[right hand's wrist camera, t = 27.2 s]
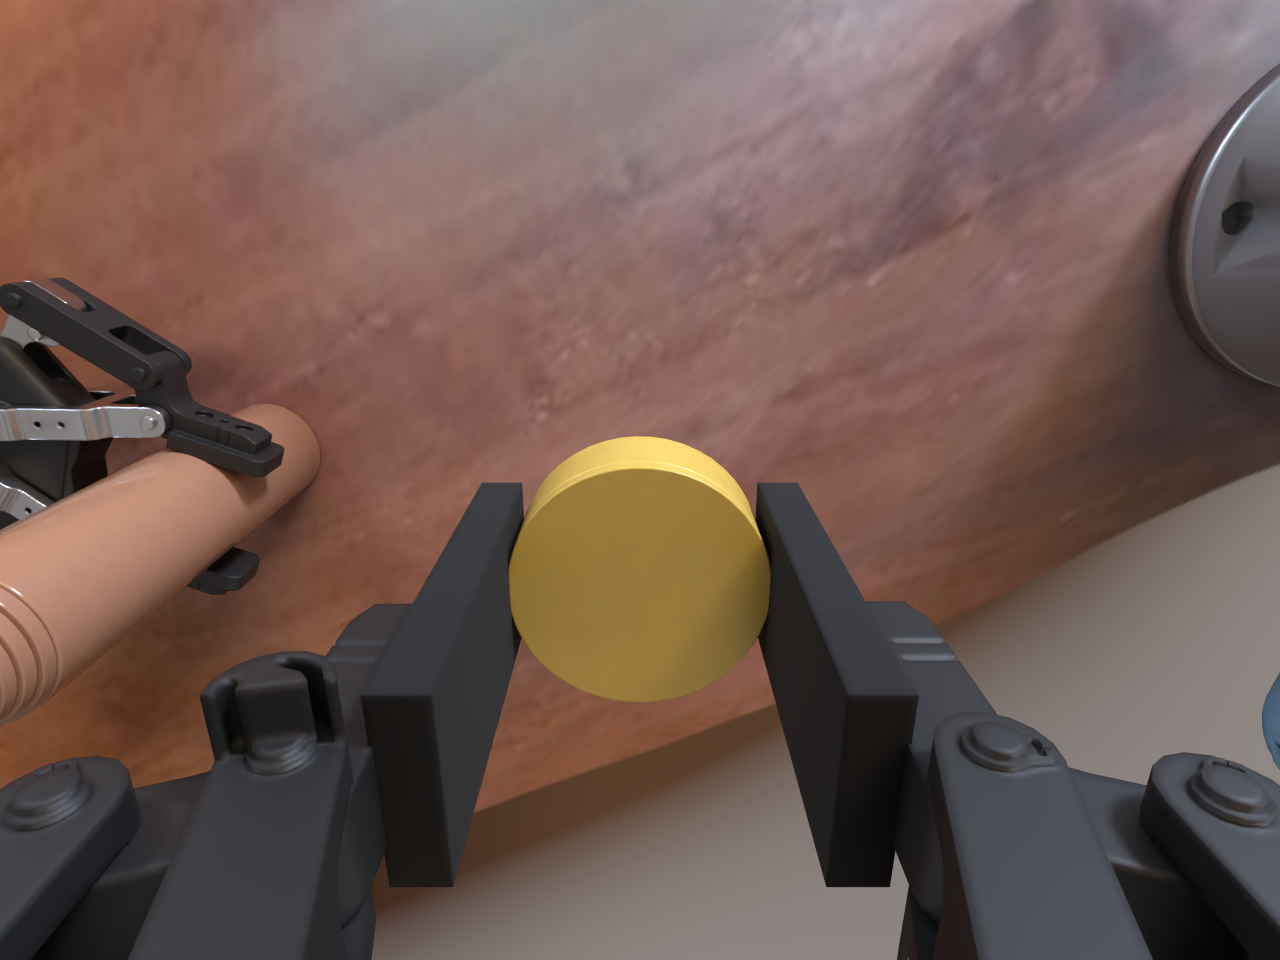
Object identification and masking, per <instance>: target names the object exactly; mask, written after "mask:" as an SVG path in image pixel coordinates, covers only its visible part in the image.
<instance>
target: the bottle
mask: <svg viewBox="0 0 1280 960" xmlns="http://www.w3.org/2000/svg"><path fill="white" fill-rule="evenodd" d="M230 416H233V417H236V418H239V419H242V420H245V421H246V422H251V423H254V424H257V425H260V426H262V427H263V428H265V429H266V430H267V431H268V432H270V433H271V434H272V440H271V442H274V443H277V444H280V445H282V446H283V447H284V448H285V451H284V455H283V459H282V464H281V465H280V466H279V467H278V468H276V469H275V470H273V471H272V472H271V473H269V474H268V475H266V476H264V477H252V476H248V475H245V474H242V473H239V472H236V471H233V470H230V469H227V468H224V467H221V466H218V465H215V464H212V463H209V462H206V461H203V460H201V459H198V458H196V457H193V456H190V455H187V454H183V453H180V452H177V451H174V450H171V449H168V448H166V447H165V448H163V449H161V450H159V451H157V452H155V453H153V454H151V455H149V456H147V457H145V458H143V459H141V460H139V461H137V462H135V463H133V464H131V465H129V466H127V467H125V468H123V469H121V470H119V471H117V472H115V473H113V474H111V475H109V476H107V477H105V478H103V479H101V480H99V481H97V482H95V483H93V484H91V485H89V486H87V487H85V488H83V489H81V490H79V491H77V492H75V493H73V494H71V495H69V496H67V497H65V498H63V499H61V500H59V501H57V502H55V503H53V504H51V505H49V506H47V507H45V508H43V509H41V510H39V511H37V512H35V513H33V514H31V515H29V516H27V517H25V518H23V519H21V520H19V521H17V522H15V523H13V524H11V525H9V526H7V527H5V528H3V529H1V530H0V727H1V726H3V725H4V724H7V723H11V722H13V721H15V720H18V719H20V718H21V717H23V716H24V715H26V714H28V713H29V712H30V711H32V710H34V709H36V708H38V707H39V706H41V705H42V704H44V703H45V702H46V701H48V700H49V699H50V698H51V697H52V696H54V695H55V694H56V693H57V692H59V691H60V690H61V689H62V688H63V687H65V686H66V685H67V684H68V683H69V682H71V681H72V680H73V679H74V678H75V677H77V676H78V675H79V674H80V673H82V672H83V671H84V670H85V669H86V668H88V667H89V666H90V665H91V664H92V663H94V662H95V661H96V660H97V659H98V658H100V657H101V656H102V655H103V654H105V653H106V652H107V651H108V650H109V649H111V648H112V647H113V646H114V645H115V644H117V643H118V642H119V641H120V640H121V639H123V638H124V637H125V636H126V635H128V634H129V633H130V632H131V631H132V630H134V629H135V628H136V627H137V626H138V625H140V624H141V623H142V622H143V621H144V620H146V619H147V618H148V617H149V616H151V615H152V614H153V613H154V612H155V611H157V610H158V609H159V608H160V607H161V606H163V605H164V604H165V603H166V602H167V601H169V600H170V599H171V598H172V597H174V596H175V595H176V594H177V593H178V592H180V591H181V590H182V589H183V588H184V587H186V586H187V585H188V584H189V583H190V582H192V581H193V580H194V579H195V578H197V577H198V576H199V575H200V574H201V573H203V572H204V571H205V570H206V569H207V568H209V567H210V566H211V565H212V564H213V563H215V562H216V561H217V560H218V559H220V558H221V557H222V556H223V555H224V554H226V553H227V552H228V551H229V550H230V549H232V548H233V547H234V546H235V545H236V544H238V543H239V542H240V541H241V540H243V539H244V538H245V537H246V536H247V535H249V534H250V533H251V532H252V531H253V530H255V529H256V528H257V527H258V526H259V525H261V524H262V523H263V522H264V521H266V520H267V519H268V518H269V517H270V516H272V515H273V514H274V513H275V512H276V511H278V510H279V509H280V508H281V507H282V506H284V505H285V504H286V503H287V502H289V501H290V500H291V499H292V498H293V497H295V496H296V495H297V494H298V493H299V492H301V491H302V490H303V489H304V488H305V487H307V486H308V485H309V484H310V483H311V482H312V481H313V479H314V478H315V476H316V474H317V472H318V469H319V465H320V449H319V444H318V441H317V439H316V437H315V435H314V433H313V431H312V430H311V428H310V427H309V426H308V424H307V423H306V422H305V421H304V420H303V419H302V418H300V417H299V416H298V415H297V414H295V413H293V412H292V411H290V410H288V409H286V408H283V407H280V406H277V405H273V404H255V405H251V406H247V407H245V408H243V409H241V410H239V411H237V412H235V413H233V414H231V415H230Z"/></svg>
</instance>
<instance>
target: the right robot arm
mask: <svg viewBox="0 0 1280 960" xmlns="http://www.w3.org/2000/svg"><path fill="white" fill-rule="evenodd" d="M1169 270H1170V279H1171V286H1172V290H1173V295H1174V299H1175V302H1176V305H1177V308H1178V311H1179V313H1180V316H1181V318H1182V320H1183V322H1184V324H1185V326H1186V328H1187V329H1188V331H1189V332H1190V334H1191V335H1192V337H1193V338H1194V340H1195V341H1196V342H1197V343H1198V344H1199V345H1200V347H1201V348H1202V349H1203V350H1204V351H1205V352H1206V353H1207V354H1209V355H1210V356H1211V357H1212V358H1213V359H1214V360H1216V361H1217V362H1218V363H1220V364H1221V365H1223V366H1224V367H1226V368H1228V369H1230V370H1232V371H1233V372H1235V373H1237V374H1240V375H1242V376H1245V377H1248V378H1250V379H1253V380H1257V381H1260V382H1264V383H1268V384H1271V385H1275V386H1279V387H1280V64H1279V65H1277V66H1276V67H1274V68H1273V69H1272V70H1271V71H1270V72H1268V73H1267V74H1266V75H1265V76H1263V77H1262V78H1261V79H1260V80H1259V81H1257V82H1256V83H1255V84H1254V85H1253V86H1252V87H1251V88H1250V89H1249V90H1248V91H1247V92H1246V93H1245V94H1244V95H1243V96H1242V97H1241V98H1240V99H1239V100H1238V101H1237V102H1236V103H1235V104H1234V106H1233V107H1232V108H1231V109H1230V110H1229V111H1228V112H1227V113H1226V115H1225V116H1224V117H1223V119H1222V120H1221V121H1220V123H1219V124H1218V125H1217V126H1216V128H1215V129H1214V131H1213V132H1212V134H1211V135H1210V137H1209V138H1208V140H1207V141H1206V143H1205V144H1204V146H1203V147H1202V149H1201V151H1200V153H1199V155H1198V156H1197V158H1196V160H1195V162H1194V164H1193V166H1192V168H1191V170H1190V172H1189V174H1188V177H1187V179H1186V181H1185V183H1184V186H1183V189H1182V192H1181V194H1180V197H1179V200H1178V204H1177V207H1176V211H1175V215H1174V219H1173V224H1172V230H1171V236H1170V248H1169ZM523 521H524V509H523V492H522V483H482V484H481V485H480V487H479V489H478V491H477V492H476V494H475V496H474V498H473V499H472V501H471V503H470V505H469V506H468V508H467V510H466V512H465V513H464V515H463V517H462V519H461V520H460V522H459V524H458V526H457V527H456V529H455V531H454V533H453V534H452V536H451V538H450V540H449V541H448V543H447V545H446V547H445V548H444V550H443V552H442V554H441V555H440V557H439V559H438V561H437V562H436V564H435V566H434V568H433V569H432V571H431V573H430V575H429V576H428V578H427V580H426V582H425V583H424V585H423V587H422V588H421V590H420V592H419V594H418V595H417V597H416V599H415V601H414V602H413V604H375V605H373V606H372V607H370V608H369V609H368V610H366V611H365V612H363V613H362V614H360V615H359V616H357V617H356V618H354V619H353V620H351V621H350V622H349V624H348V625H347V626H346V628H345V629H344V631H343V632H342V634H341V635H340V636H339V638H338V639H337V641H336V645H335V646H332V648H331V649H330V651H329V652H328V654H327V655H326V656H322V655H318V654H314V653H310V652H306V651H301V652H279V653H274V654H270V655H265V656H260V657H256V658H254V659H251V660H249V661H246V662H244V663H241V664H239V665H236V666H234V667H232V668H230V669H229V670H227V671H225V672H224V673H222V674H221V675H219V676H218V677H216V678H215V679H213V680H212V681H211V682H210V683H209V684H208V686H207V687H206V688H205V689H204V690H203V691H202V693H201V694H200V695H199V696H200V700H201V704H202V708H203V712H204V717H205V721H206V725H207V729H208V733H209V737H210V741H211V746H212V750H213V754H214V758H215V762H214V764H213V766H212V769H211V771H208V772H204V773H201V774H197V775H194V776H190V777H186V778H181V779H176V780H172V781H167V782H162V783H158V784H153V785H149V786H144V787H139V788H135V789H134V788H133V785H132V782H131V778H130V775H129V771H128V769H127V768H126V767H125V766H124V765H123V764H122V763H120V762H119V761H118V760H117V759H112V758H106V757H100V756H91V757H82V758H73V759H68V760H65V761H60V762H56V763H55V764H50V765H47V766H44V767H41V768H38V769H36V770H34V771H33V772H31V773H29V774H27V775H25V776H23V777H21V778H19V779H16V780H14V781H12V782H10V783H9V784H7V785H6V786H5V787H3V788H2V789H0V960H371V957H372V949H373V940H374V931H375V923H376V916H375V908H374V901H373V895H372V889H371V886H372V883H373V880H374V878H375V876H376V873H377V870H378V868H379V865H380V863H381V860H382V858H383V855H384V853H385V860H386V866H387V873H388V879H389V886H390V887H453V886H454V882H455V878H456V875H457V871H458V867H459V864H460V860H461V856H462V853H463V849H464V845H465V842H466V838H467V834H468V831H469V827H470V823H471V820H472V816H473V813H474V809H475V805H476V802H477V798H478V794H479V791H480V787H481V783H482V780H483V776H484V772H485V769H486V765H487V762H488V758H489V754H490V751H491V747H492V743H493V740H494V736H495V732H496V729H497V725H498V721H499V718H500V714H501V710H502V707H503V703H504V700H505V696H506V692H507V689H508V685H509V681H510V678H511V674H512V670H513V667H514V663H515V659H516V656H517V652H518V648H519V645H520V641H521V636H520V634H519V632H518V629H517V627H516V625H515V623H514V620H513V617H512V613H511V602H510V587H509V562H510V559H511V555H512V551H513V548H514V545H515V543H516V540H517V537H518V535H519V532H520V529H521V526H522V524H523ZM755 521H756V524H757V526H758V529H759V532H760V534H761V537H762V540H763V543H764V545H765V548H766V551H767V554H768V557H769V562H770V567H771V578H770V594H769V608H768V614H767V618H766V621H765V623H764V625H763V628H762V630H761V632H760V634H759V636H758V639H759V643H760V647H761V650H762V654H763V658H764V661H765V665H766V669H767V672H768V676H769V679H770V683H771V687H772V690H773V694H774V698H775V701H776V705H777V709H778V712H779V716H780V720H781V723H782V727H783V730H784V734H785V738H786V741H787V745H788V749H789V752H790V756H791V760H792V763H793V767H794V771H795V774H796V778H797V781H798V785H799V789H800V793H801V796H802V800H803V804H804V807H805V811H806V814H807V818H808V822H809V825H810V829H811V833H812V836H813V840H814V843H815V847H816V851H817V855H818V858H819V862H820V866H821V869H822V873H823V876H824V880H825V884H826V887H890V882H891V876H892V869H893V863H894V856H895V850H896V853H897V855H898V858H899V860H900V863H901V865H902V868H903V870H904V873H905V876H906V878H907V881H908V883H909V889H908V895H907V901H906V907H905V913H904V919H903V925H902V931H901V937H900V943H899V949H898V957H897V960H908V956H909V960H1280V785H1278V784H1277V783H1275V782H1274V781H1273V780H1271V779H1269V778H1267V777H1265V776H1263V775H1261V774H1259V773H1257V772H1255V771H1253V770H1251V769H1249V768H1247V767H1245V766H1243V765H1241V764H1238V763H1235V762H1232V761H1229V760H1228V761H1227V760H1224V759H1222V758H1218V757H1214V756H1211V755H1202V754H1193V753H1184V752H1183V753H1178V754H1172V755H1166V756H1163V757H1162V758H1161V759H1159V760H1158V761H1157V762H1156V763H1155V764H1154V765H1153V766H1152V769H1151V772H1150V776H1149V779H1148V783H1147V785H1142V784H1137V783H1133V782H1128V781H1123V780H1119V779H1114V778H1109V777H1105V776H1100V775H1095V774H1091V773H1087V772H1083V771H1080V770H1076V769H1073V768H1069V767H1068V765H1067V763H1066V761H1065V759H1064V757H1063V756H1062V755H1061V753H1060V752H1059V751H1058V749H1057V748H1056V746H1055V745H1054V744H1053V743H1052V742H1051V741H1050V740H1048V739H1047V738H1046V737H1044V736H1043V735H1042V734H1040V733H1039V732H1038V731H1036V730H1035V729H1033V728H1031V727H1029V726H1027V725H1024V724H1022V723H1020V722H1018V721H1016V720H1014V719H1011V718H1008V717H1004V716H999V715H997V714H996V712H995V711H994V709H993V708H992V706H991V705H990V704H989V702H988V701H987V699H986V698H985V697H984V695H983V694H982V692H981V691H980V689H979V688H978V687H977V685H976V684H975V682H974V681H973V679H972V678H971V677H970V675H969V674H968V672H967V671H966V670H965V668H964V667H963V665H962V664H961V662H960V661H957V660H956V655H955V654H954V653H953V651H952V650H951V648H950V647H949V645H948V644H947V643H944V638H943V637H942V635H941V634H940V633H939V631H938V630H937V628H936V627H935V626H934V624H933V623H932V621H931V620H930V619H929V618H928V617H926V616H925V615H923V614H922V613H920V612H919V611H917V610H916V609H914V608H913V607H911V606H910V605H908V604H907V603H906V602H889V601H865V600H864V598H863V596H862V595H861V593H860V591H859V589H858V588H857V586H856V584H855V582H854V581H853V579H852V577H851V575H850V574H849V572H848V570H847V568H846V567H845V565H844V563H843V561H842V560H841V558H840V556H839V554H838V553H837V551H836V549H835V547H834V546H833V544H832V542H831V540H830V539H829V537H828V535H827V534H826V532H825V530H824V528H823V527H822V525H821V523H820V521H819V520H818V518H817V516H816V514H815V513H814V511H813V509H812V507H811V506H810V504H809V502H808V500H807V499H806V497H805V495H804V493H803V492H802V490H801V488H800V486H799V485H798V483H757V501H756V518H755ZM1262 727H1263V734H1264V738H1265V741H1266V744H1267V747H1268V749H1269V751H1270V753H1271V755H1272V757H1273V761H1274V762H1275V764H1276V765H1277V767H1278V768H1279V769H1280V673H1279V675H1278V677H1277V678H1276V680H1275V682H1274V684H1273V686H1272V687H1271V689H1270V691H1269V693H1268V694H1267V697H1266V699H1265V703H1264V706H1263V711H1262Z"/></svg>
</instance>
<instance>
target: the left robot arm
mask: <svg viewBox="0 0 1280 960" xmlns="http://www.w3.org/2000/svg"><path fill="white" fill-rule="evenodd" d="M0 306H1V307H2V308H3V310H4V311H5V312H7V313H8V316H7V319H6V321H5V324H4V326H3V329H2V331H1V334H0V530H1V529H3V528H5V527H7V526H9V525H11V524H13V523H15V522H17V521H19V520H21V519H23V518H25V517H27V516H29V515H31V514H33V513H35V512H37V511H39V510H41V509H43V508H45V507H47V506H49V505H51V504H53V503H55V502H57V501H59V500H61V499H63V498H65V497H67V496H69V495H71V494H73V493H75V492H77V491H79V490H81V489H83V488H85V487H87V486H89V485H91V484H93V483H95V482H97V481H99V480H101V479H103V478H105V477H107V474H108V472H107V465H106V459H105V454H106V452H107V450H108V448H109V446H110V444H111V442H112V439H113V437H127V438H156V437H159V436H160V437H163V438H166V439H168V440H167V446H166V448H168V449H171V450H174V451H177V452H180V453H183V454H187V455H190V456H193V457H196V458H198V459H201V460H203V461H206V462H209V463H212V464H215V465H218V466H221V467H224V468H227V469H230V470H233V471H236V472H239V473H242V474H245V475H248V476H252V477H264V476H266V475H268V474H269V473H271V472H272V471H273V470H275V469H276V468H278V467H279V466H280V465H281V464H282V459H283V455H284V451H285V448H284V447H283V446H282V445H280V444H277V443H274V442H271V440H272V434H271V433H270V432H268V431H267V430H266V429H265V428H263V427H262V426H260V425H257V424H254V423H251V422H246V421H245V420H242V419H239V418H236V417H233V416H230V415H227V414H225V413H222V412H219V411H216V410H213V409H210V408H207V407H204V406H202V405H200V404H198V402H197V401H196V400H195V399H194V398H193V397H192V396H191V395H190V393H189V390H188V385H187V380H186V375H187V374H188V373H189V372H190V370H191V367H192V363H191V360H190V357H189V356H188V355H187V353H186V352H184V351H183V350H182V349H180V348H178V347H177V346H175V345H173V344H172V343H170V342H168V341H167V340H165V339H164V338H162V337H160V336H159V335H157V334H155V333H154V332H152V331H150V330H149V329H147V328H145V327H144V326H142V325H141V324H139V323H137V322H136V321H134V320H132V319H131V318H129V317H127V316H126V315H124V314H123V313H121V312H119V311H118V310H116V309H114V308H113V307H111V306H109V305H108V304H106V303H105V302H103V301H101V300H100V299H98V298H96V297H95V296H93V295H91V294H90V293H88V292H87V291H85V290H83V289H82V288H80V287H78V286H77V285H75V284H73V283H72V282H70V281H69V280H67V279H64V278H51V279H37V280H28V281H21V282H17V283H8V284H4V285H2V286H1V287H0ZM59 345H62V346H64V347H65V348H67V349H69V350H70V351H72V352H74V353H75V354H77V355H79V356H81V357H82V358H84V359H86V360H87V361H89V362H91V363H92V364H94V365H96V366H97V367H99V368H101V369H103V370H104V371H106V372H108V373H109V374H111V375H113V376H114V377H116V378H118V379H119V380H121V381H123V382H124V383H126V384H128V385H130V386H131V387H133V388H135V389H97V388H85V387H84V386H83V385H82V384H81V383H80V382H79V381H78V380H77V379H76V378H75V376H74V375H73V374H72V373H71V372H70V371H69V370H68V369H67V368H66V367H65V366H64V365H63V364H62V362H61V361H60V360H59V359H58V358H57V357H56V356H55V355H54V354H53V353H52V352H51V351H50V349H49V348H48V347H47V346H50V347H55V346H59ZM259 560H260V559H259V557H258V556H257V555H256V554H254V553H251V552H247V551H244V550H241V549H238V548H235V547H233V548H232V549H230V550H229V551H228V552H227V553H226V554H224V555H223V556H222V557H221V558H220V559H218V560H217V561H216V562H215V563H213V564H212V565H211V566H210V567H209V568H207V569H206V570H205V571H204V572H203V573H201V574H200V575H199V576H198V577H197V578H195V579H194V580H193V581H192V582H190V583H189V584H188V585H187V586H189V587H190V588H193V589H196V590H197V589H198V590H199V591H202V592H205V593H209V594H225V593H226V592H227V591H235V590H239V589H241V588H242V587H243V586H244V585H245V584H246V583H247V582H248V581H249V580H250V579H251V578H252V577H254V576H255V575H256V573H257V569H258V564H259ZM187 586H186V587H187Z"/></svg>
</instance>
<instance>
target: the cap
mask: <svg viewBox="0 0 1280 960" xmlns="http://www.w3.org/2000/svg"><path fill="white" fill-rule="evenodd" d="M770 578H771V567H770V562H769V557H768V554H767V551H766V548H765V545H764V543H763V540H762V537H761V534H760V532H759V529H758V526H757V524H756V521H755V518H754V515H753V513H752V510H751V507H750V505H749V503H748V501H747V499H746V497H745V495H744V493H743V491H742V490H741V488H740V487H739V486H738V484H737V483H736V481H735V480H734V479H733V478H732V477H731V476H730V475H729V474H728V472H727V471H726V470H725V469H724V468H723V467H721V466H720V465H719V464H718V463H716V462H715V461H714V460H713V459H711V458H710V457H708V456H706V455H705V454H703V453H701V452H700V451H698V450H696V449H693V448H691V447H689V446H687V445H684V444H681V443H678V442H675V441H671V440H668V439H661V438H655V437H636V436H635V437H625V438H617V439H613V440H608V441H604V442H601V443H598V444H595V445H593V446H590V447H588V448H586V449H584V450H582V451H580V452H578V453H576V454H574V455H573V456H571V457H570V458H568V459H567V460H565V461H564V462H563V463H561V464H560V465H559V466H558V467H557V468H556V469H555V470H554V471H553V472H551V473H550V475H549V476H548V477H547V478H546V479H545V481H544V482H543V483H542V484H541V486H540V487H539V489H538V490H537V492H536V494H535V495H534V497H533V499H532V501H531V504H530V506H529V508H528V510H527V513H526V516H525V518H524V521H523V524H522V526H521V529H520V532H519V535H518V537H517V540H516V543H515V545H514V548H513V551H512V555H511V559H510V562H509V587H510V602H511V613H512V617H513V620H514V623H515V625H516V627H517V629H518V632H519V634H520V636H521V638H522V639H523V641H524V642H525V644H526V645H527V647H528V648H529V650H530V651H531V653H532V654H533V655H534V656H535V657H536V658H537V659H538V660H539V662H540V663H541V664H542V665H544V666H545V667H546V668H547V669H548V670H549V671H550V672H552V673H553V674H554V675H556V676H557V677H558V678H560V679H561V680H563V681H564V682H566V683H568V684H570V685H572V686H573V687H575V688H577V689H579V690H581V691H584V692H587V693H589V694H592V695H595V696H598V697H602V698H606V699H610V700H616V701H623V702H656V701H663V700H668V699H674V698H678V697H681V696H684V695H687V694H690V693H693V692H695V691H697V690H700V689H702V688H704V687H706V686H708V685H710V684H711V683H713V682H715V681H716V680H718V679H720V678H721V677H722V676H724V675H725V674H726V673H727V672H729V671H730V670H731V669H733V668H734V667H735V666H736V665H737V664H738V663H739V662H740V661H741V660H742V659H743V658H744V656H745V655H746V654H747V652H748V651H749V650H750V649H751V647H752V646H753V644H754V643H755V641H756V639H757V638H758V636H759V634H760V632H761V630H762V628H763V625H764V623H765V621H766V618H767V614H768V608H769V594H770Z"/></svg>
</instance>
